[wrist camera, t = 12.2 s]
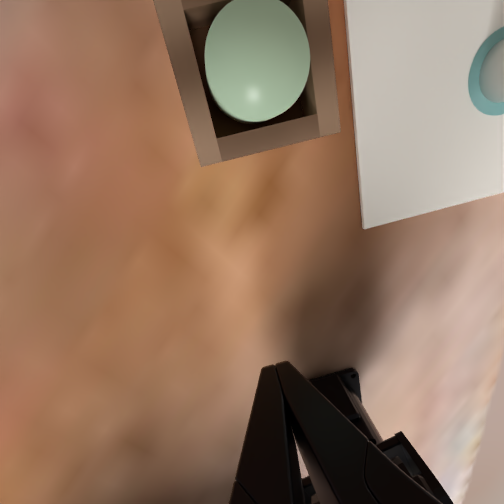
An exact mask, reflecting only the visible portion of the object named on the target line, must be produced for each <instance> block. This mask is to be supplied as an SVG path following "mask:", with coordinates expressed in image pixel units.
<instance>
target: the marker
mask: <svg viewBox="0 0 504 504" xmlns="http://www.w3.org/2000/svg"><path fill="white" fill-rule="evenodd" d="M479 85H480V89H481V92H482V94H483V95H484V97H485V98H486V99H487V100H489V101H491V102H495V103H501V102H504V39H502V40H501V41H499V42H498V43H497V44H495V45H494V46H493V47H492V48H491V50H490V51H489V52H488V54H487V55H486V57H485V59H484V61H483V63H482V66H481V69H480V75H479Z"/></svg>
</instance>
